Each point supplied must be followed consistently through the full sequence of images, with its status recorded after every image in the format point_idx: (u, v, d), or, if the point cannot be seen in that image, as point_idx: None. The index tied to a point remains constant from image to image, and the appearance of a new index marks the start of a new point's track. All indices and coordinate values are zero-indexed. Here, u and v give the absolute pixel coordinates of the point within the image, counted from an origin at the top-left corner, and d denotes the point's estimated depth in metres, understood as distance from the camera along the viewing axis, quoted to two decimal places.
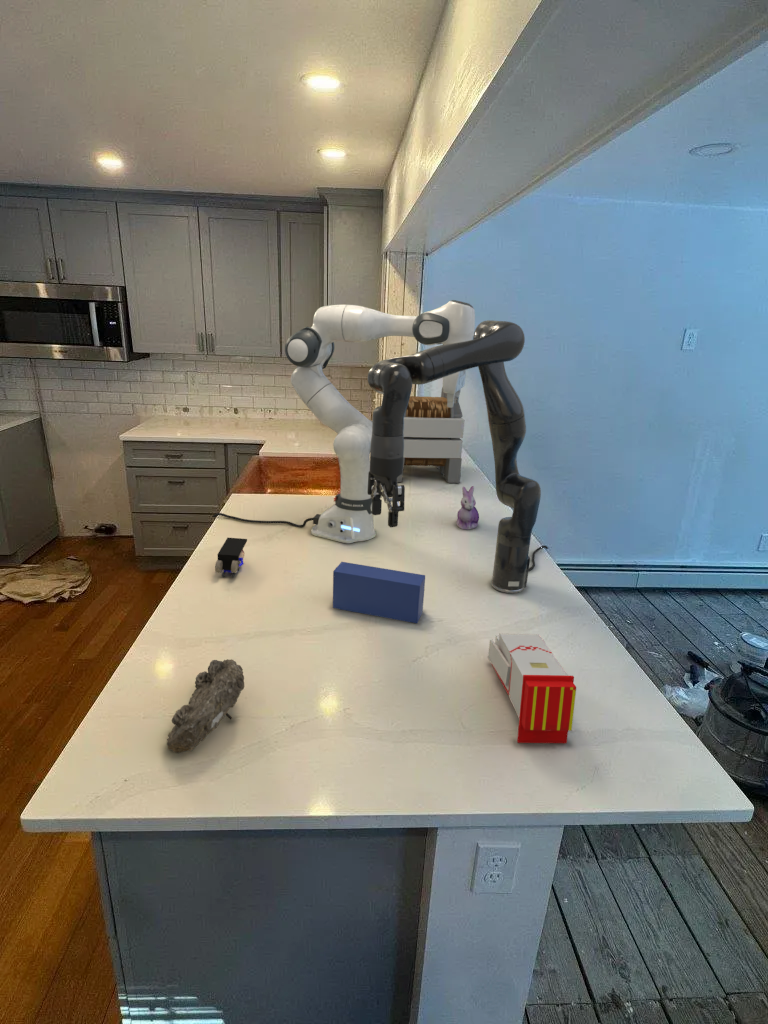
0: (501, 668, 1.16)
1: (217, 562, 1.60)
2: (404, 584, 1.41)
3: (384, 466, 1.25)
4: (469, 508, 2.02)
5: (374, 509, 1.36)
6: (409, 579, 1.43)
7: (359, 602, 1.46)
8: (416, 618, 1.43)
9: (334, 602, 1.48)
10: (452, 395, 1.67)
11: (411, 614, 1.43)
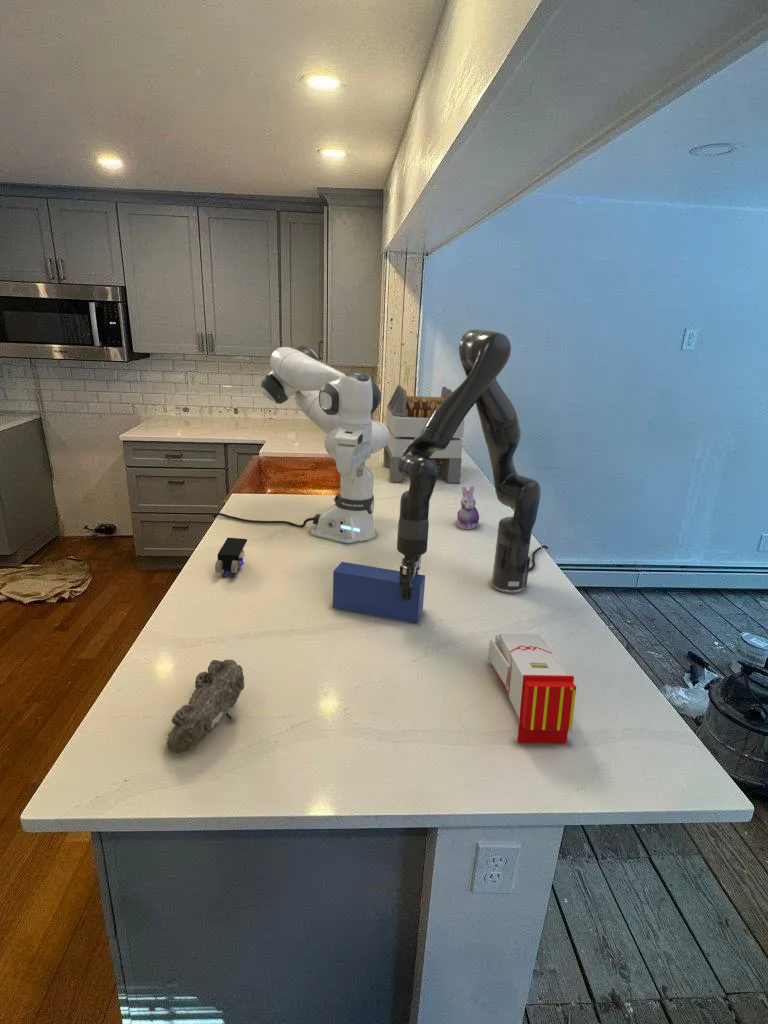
0: (501, 668, 1.16)
1: (217, 562, 1.60)
2: None
3: (401, 544, 1.38)
4: (469, 508, 2.02)
5: None
6: None
7: (359, 602, 1.46)
8: (416, 618, 1.43)
9: (334, 602, 1.48)
10: (349, 473, 1.54)
11: (411, 614, 1.43)
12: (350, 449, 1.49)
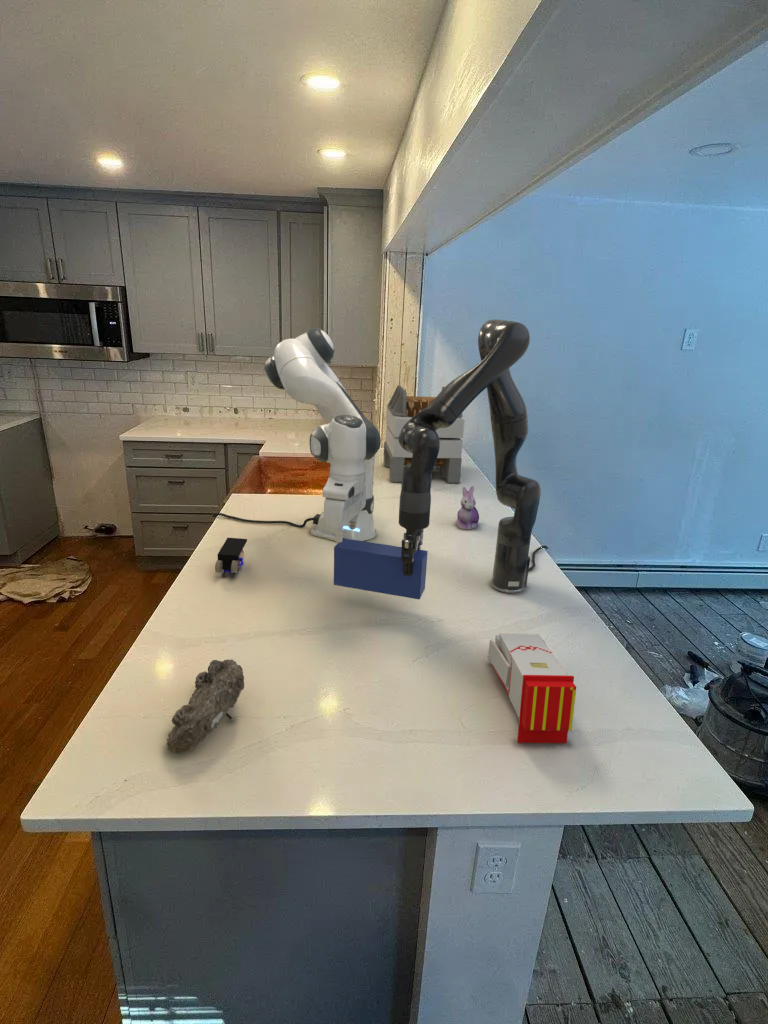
0: (501, 668, 1.16)
1: (217, 562, 1.60)
2: None
3: (402, 517, 1.35)
4: (469, 508, 2.02)
5: None
6: None
7: (360, 579, 1.44)
8: (418, 594, 1.41)
9: (335, 579, 1.46)
10: (339, 530, 1.37)
11: (414, 590, 1.41)
12: (339, 504, 1.32)
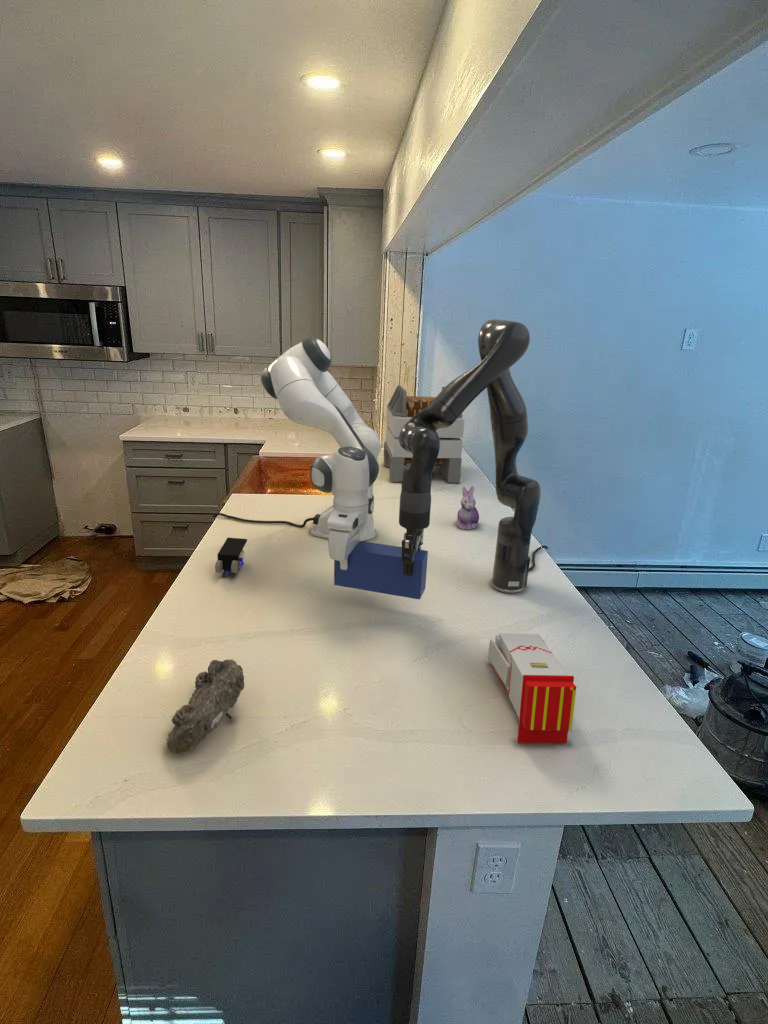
0: (501, 668, 1.16)
1: (217, 562, 1.60)
2: None
3: (403, 517, 1.35)
4: (469, 508, 2.02)
5: None
6: None
7: (360, 579, 1.44)
8: (419, 594, 1.41)
9: (335, 579, 1.46)
10: None
11: (414, 590, 1.41)
12: (344, 535, 1.35)
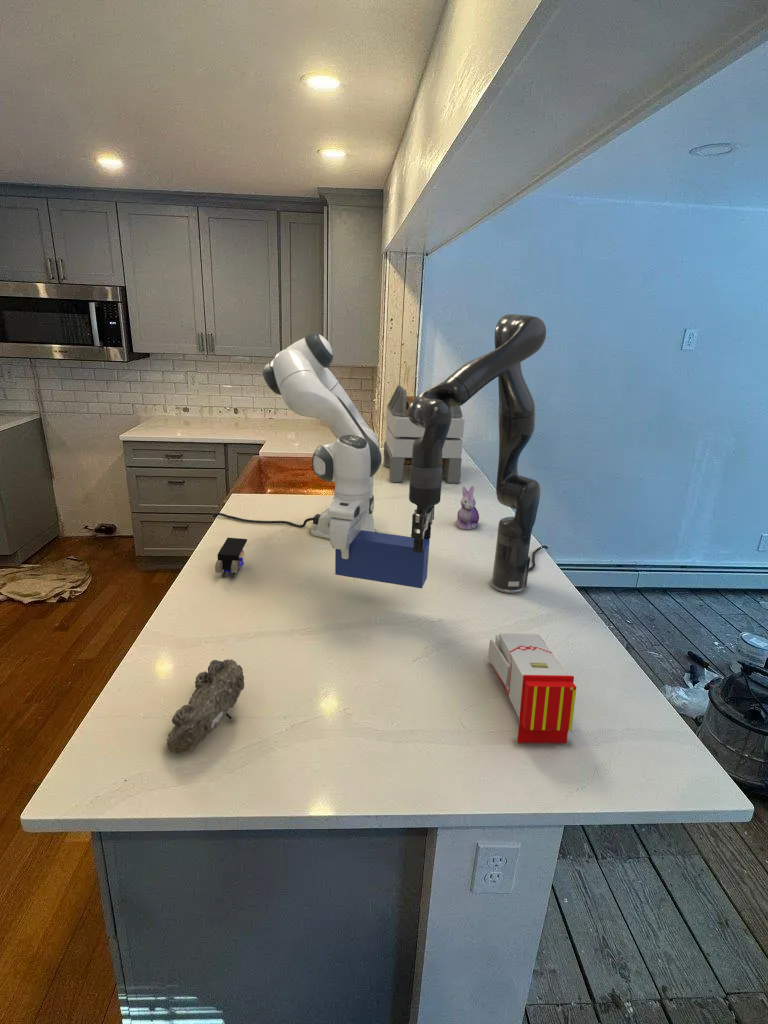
0: (501, 668, 1.16)
1: (217, 562, 1.60)
2: (408, 548, 1.38)
3: (413, 493, 1.33)
4: (469, 508, 2.02)
5: None
6: (413, 543, 1.40)
7: (362, 568, 1.43)
8: (421, 583, 1.40)
9: (336, 568, 1.45)
10: None
11: (416, 579, 1.40)
12: (345, 524, 1.34)
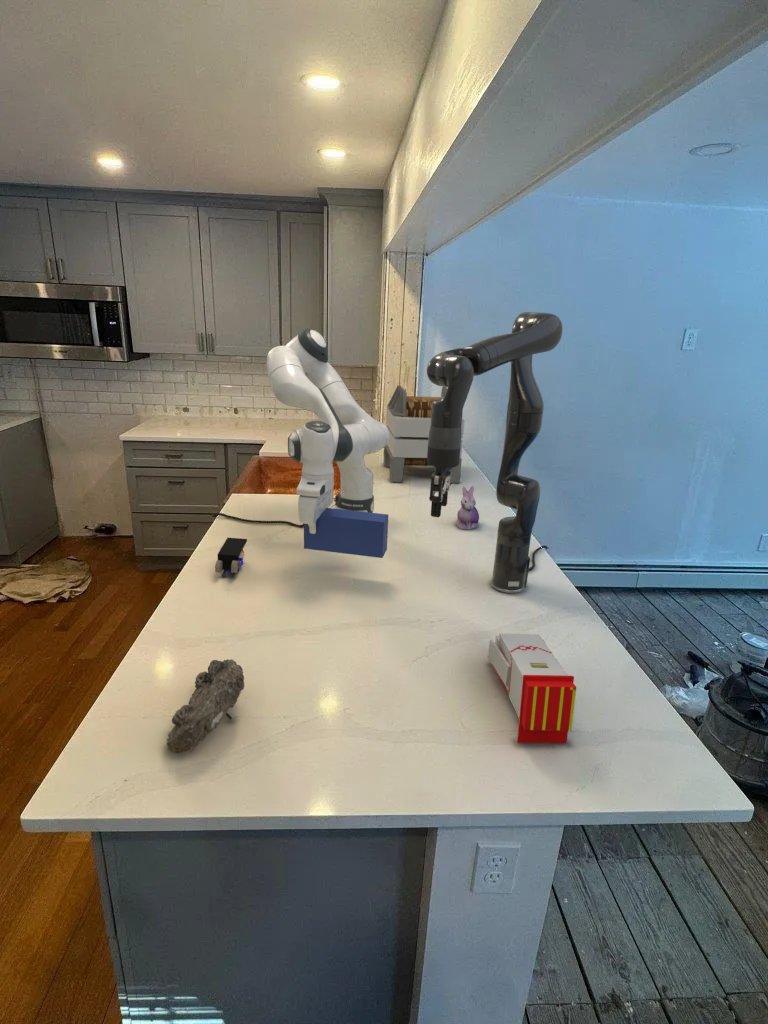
0: (501, 668, 1.16)
1: (217, 562, 1.60)
2: (369, 521, 1.54)
3: (432, 455, 1.28)
4: (469, 508, 2.02)
5: None
6: (374, 517, 1.56)
7: (328, 542, 1.58)
8: (381, 553, 1.56)
9: (305, 543, 1.60)
10: (313, 522, 1.55)
11: (377, 550, 1.56)
12: (312, 501, 1.49)
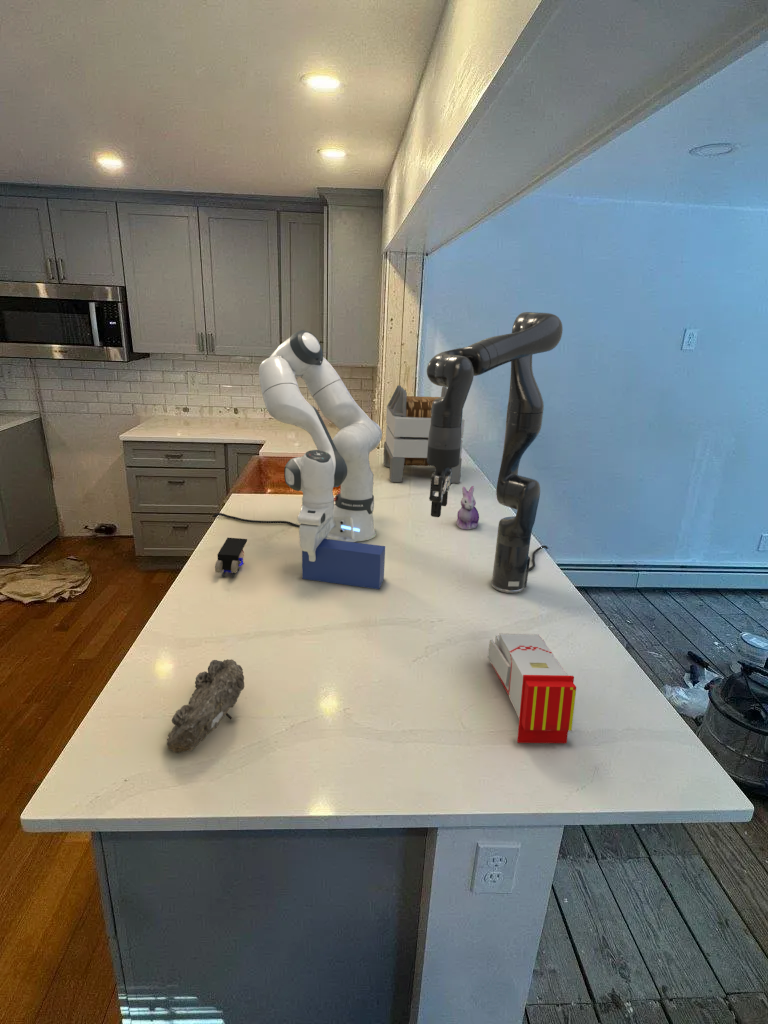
0: (501, 668, 1.16)
1: (217, 562, 1.60)
2: (367, 554, 1.57)
3: (432, 455, 1.28)
4: (469, 508, 2.02)
5: None
6: (371, 549, 1.59)
7: (326, 572, 1.62)
8: (378, 584, 1.60)
9: (303, 573, 1.63)
10: None
11: (373, 581, 1.59)
12: (313, 529, 1.51)
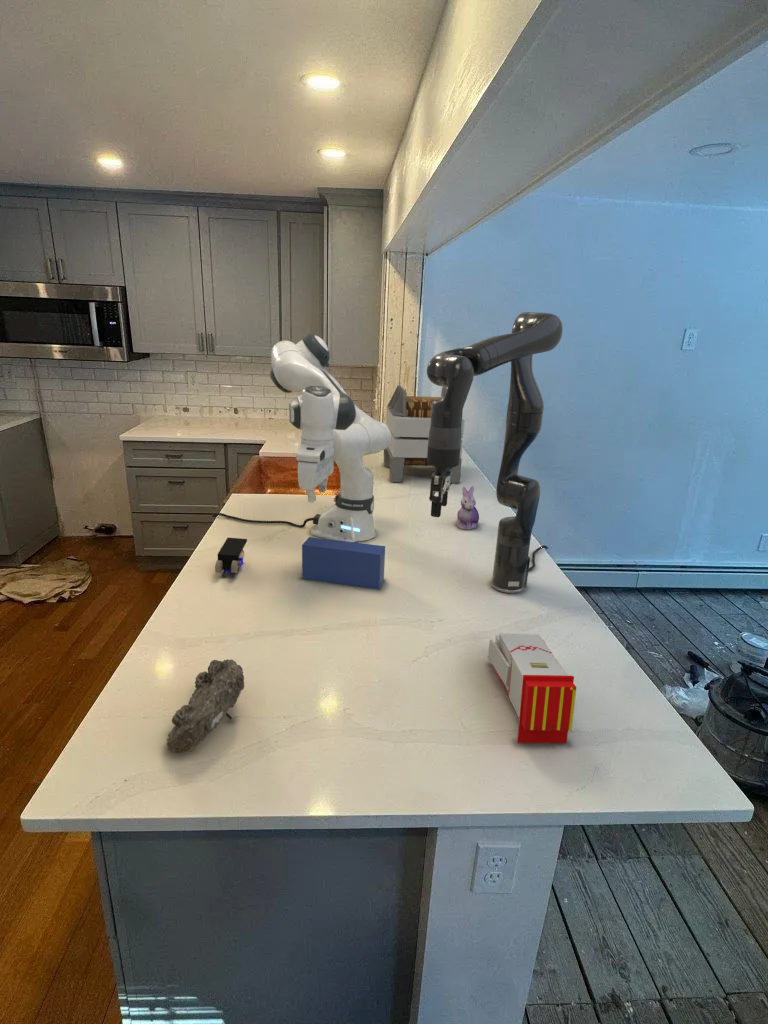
0: (501, 668, 1.16)
1: (217, 562, 1.60)
2: (367, 554, 1.57)
3: (432, 455, 1.28)
4: (469, 508, 2.02)
5: None
6: (371, 549, 1.59)
7: (326, 572, 1.62)
8: (378, 584, 1.60)
9: (303, 573, 1.63)
10: (311, 490, 1.51)
11: (373, 581, 1.59)
12: (312, 466, 1.46)
